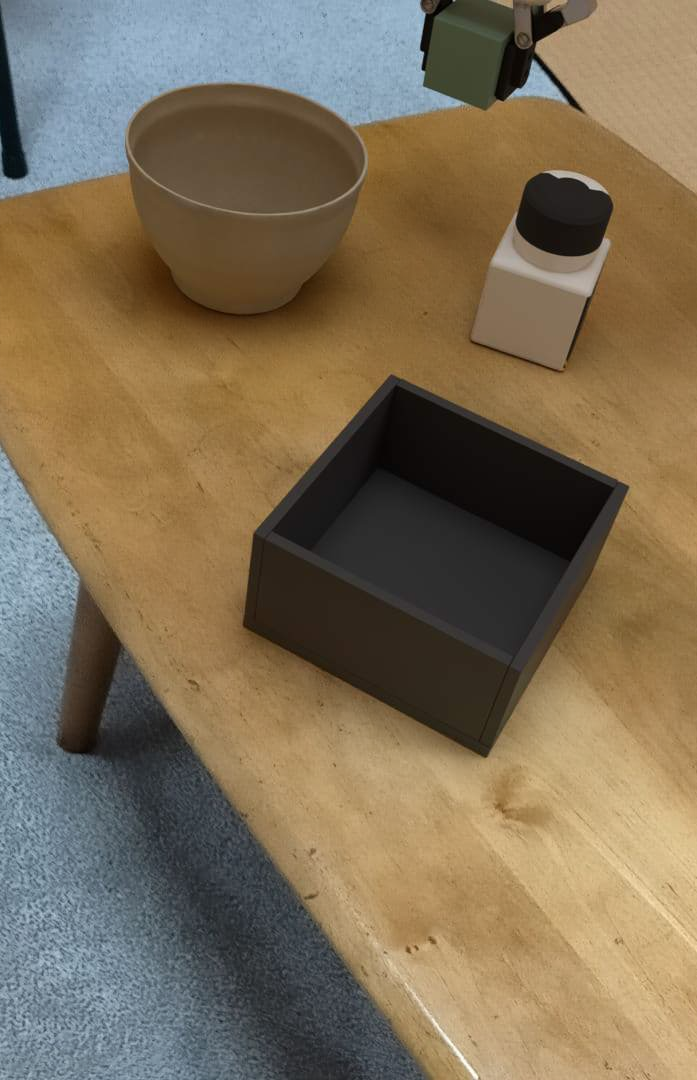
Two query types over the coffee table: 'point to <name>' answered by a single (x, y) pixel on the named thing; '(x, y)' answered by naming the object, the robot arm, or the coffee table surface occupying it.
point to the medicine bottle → (546, 269)
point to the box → (469, 50)
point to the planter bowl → (243, 189)
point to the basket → (430, 559)
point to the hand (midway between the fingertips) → (470, 76)
